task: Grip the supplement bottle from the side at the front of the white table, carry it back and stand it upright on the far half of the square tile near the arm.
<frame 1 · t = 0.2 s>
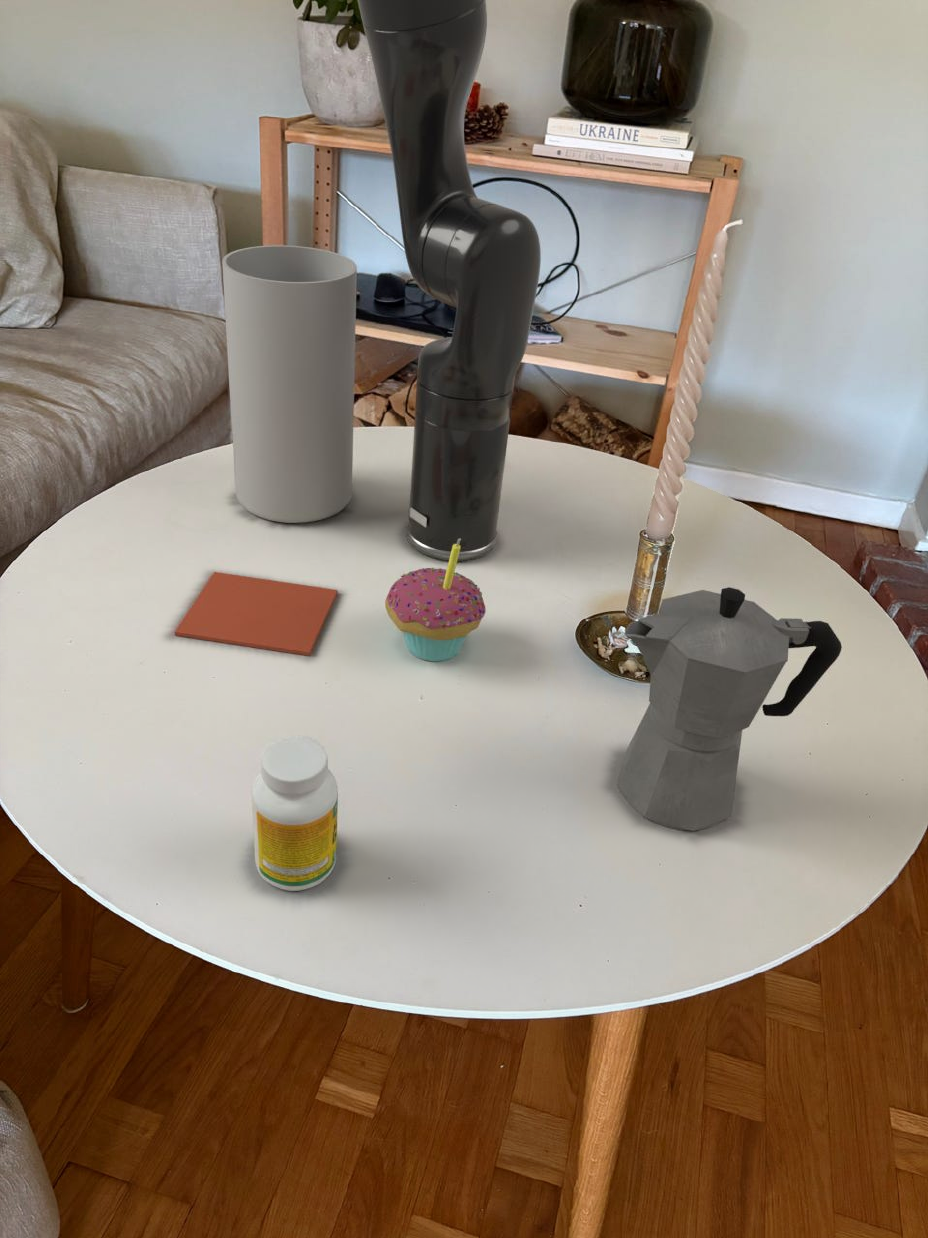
supplement bottle: (296, 864, 64), on the table
square tile: (259, 613, 87), on the table
coffeepot: (688, 789, 73), on the table
cupcake: (431, 647, 85), on the table
cylinder vase: (294, 499, 105), on the table
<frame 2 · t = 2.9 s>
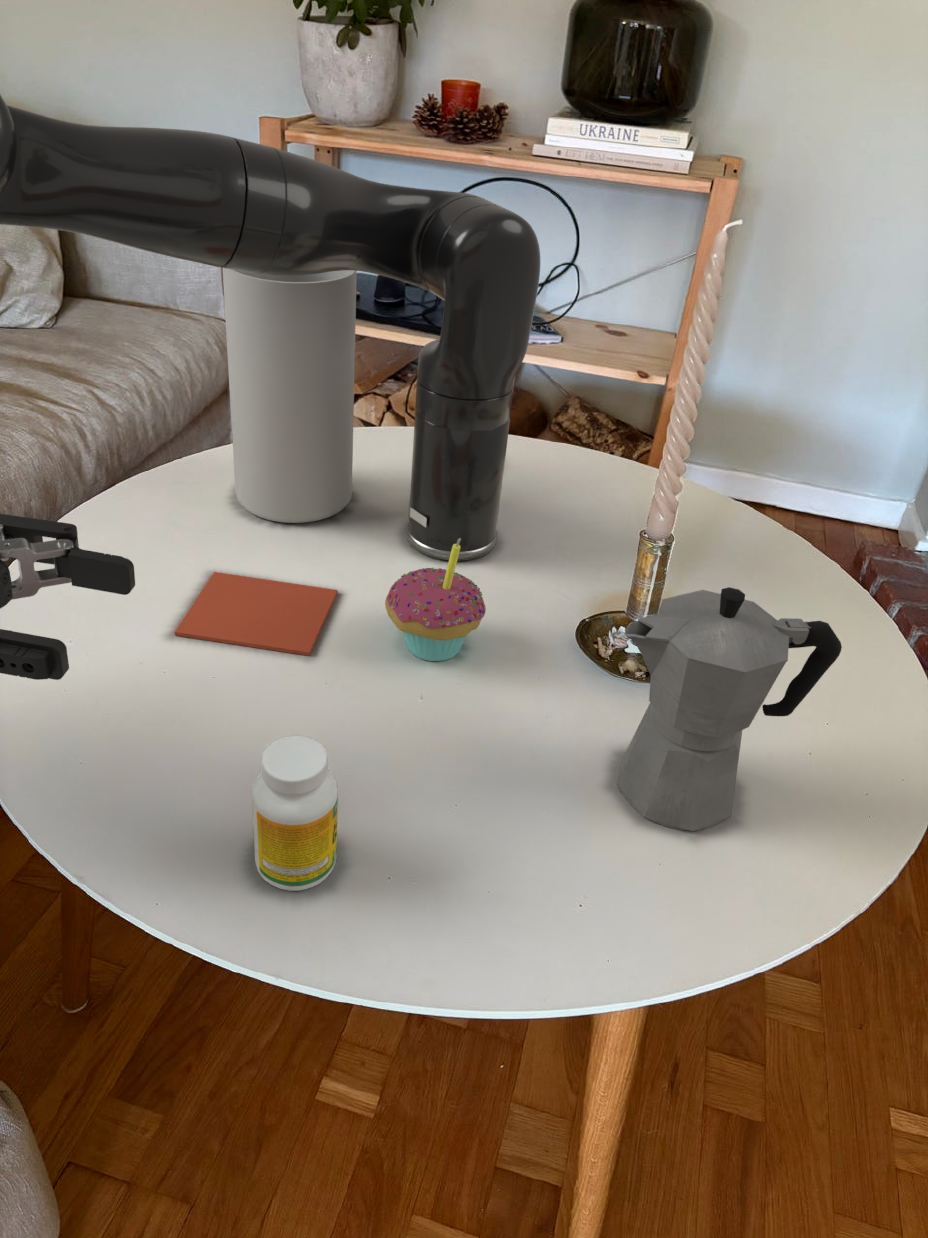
hand: (100, 616, 54), 18 cm above the table, tool horizontal, fingers open, 8 cm apart
nothing on the table moved.
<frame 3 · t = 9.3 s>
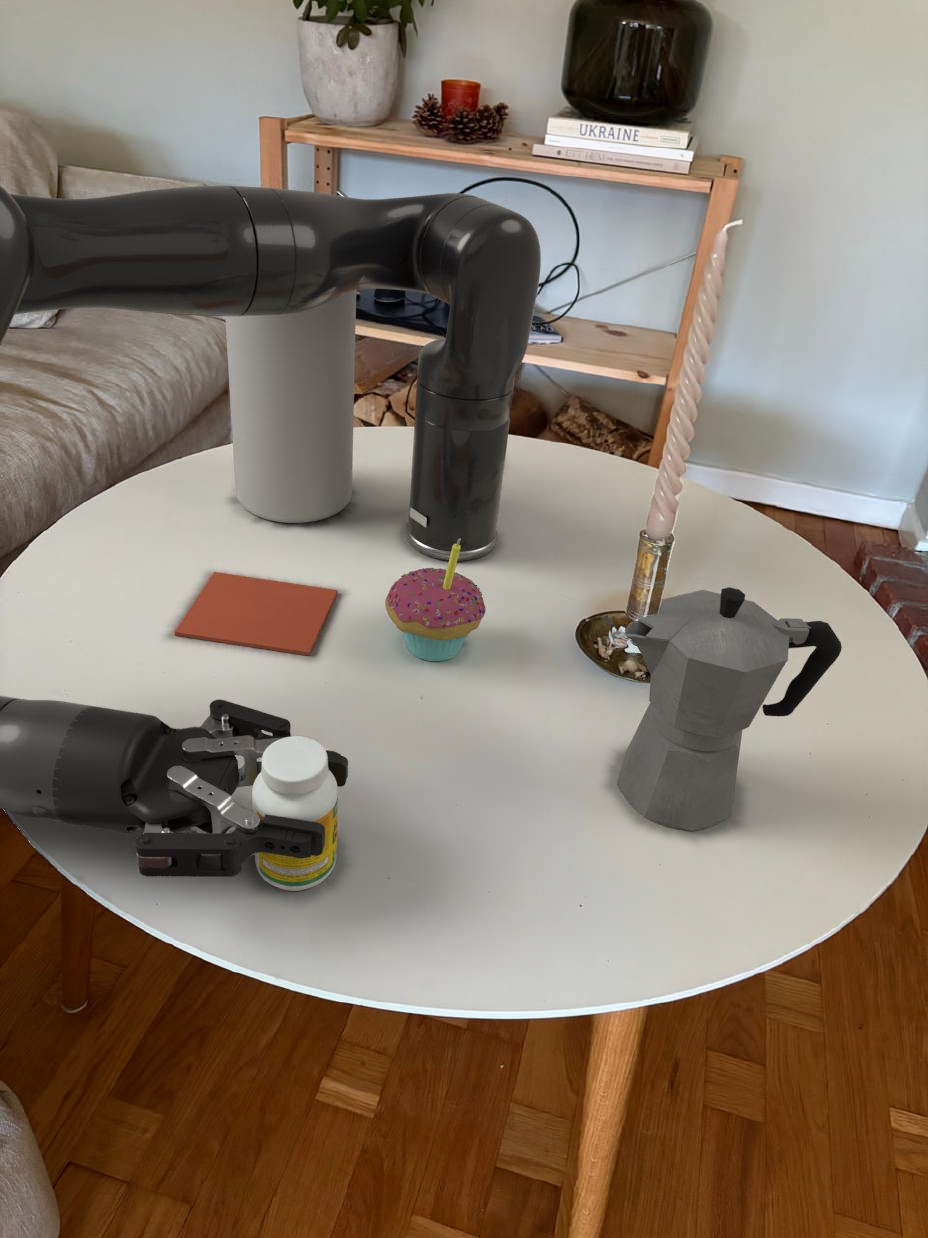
hand: (334, 804, 60), 6 cm above the table, tool horizontal, fingers closed on supplement bottle, 5 cm apart
supplement bottle: (296, 863, 64), on the table, touching gripper
everything else where it was.
when the fingers open (6 cm above the table, at t = 18.6 s): supplement bottle stays where it is, resting on square tile.
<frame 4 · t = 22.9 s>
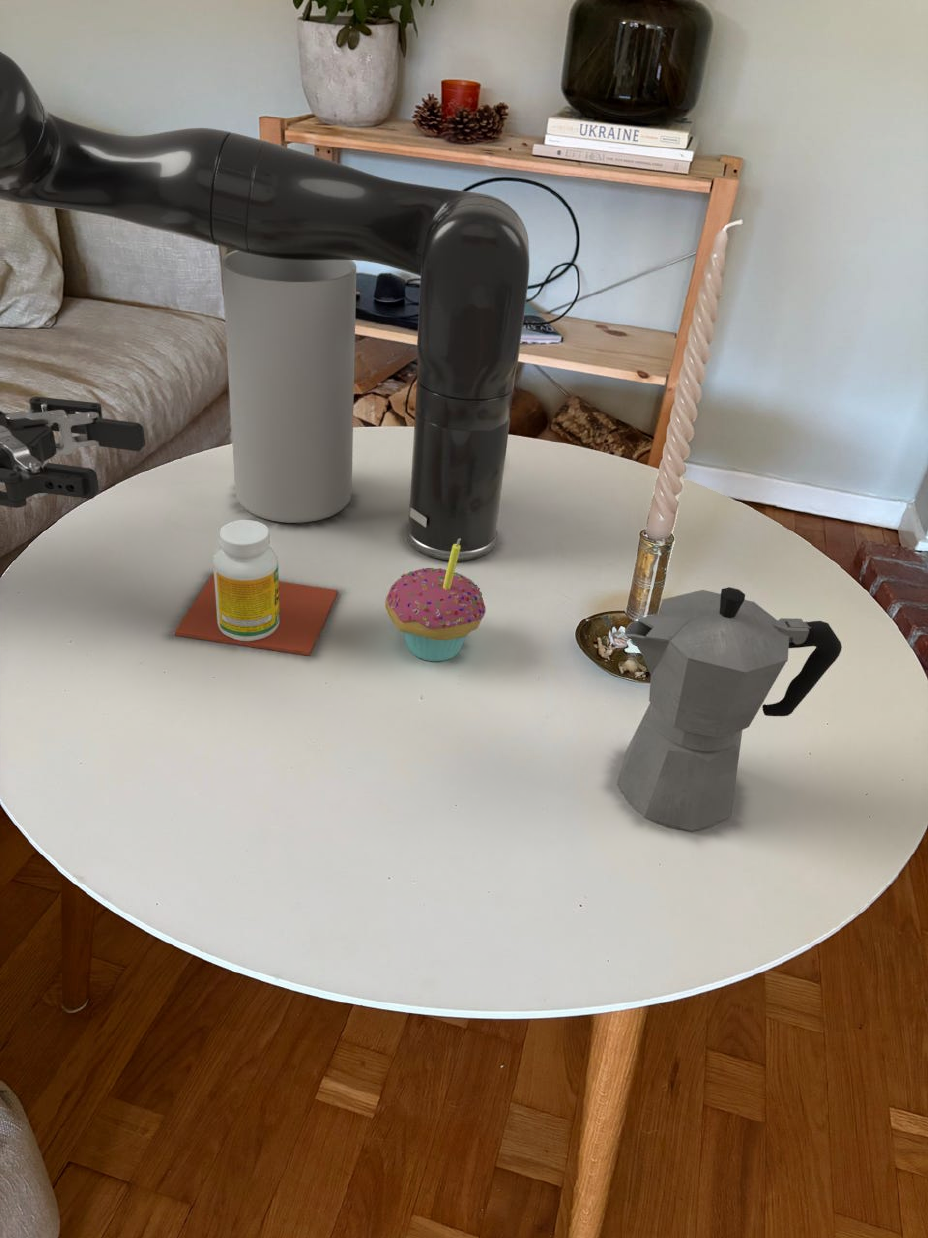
hand: (120, 459, 75), 16 cm above the table, tool horizontal, fingers open, 8 cm apart
supplement bottle: (249, 627, 85), resting on square tile
everything else where it was.
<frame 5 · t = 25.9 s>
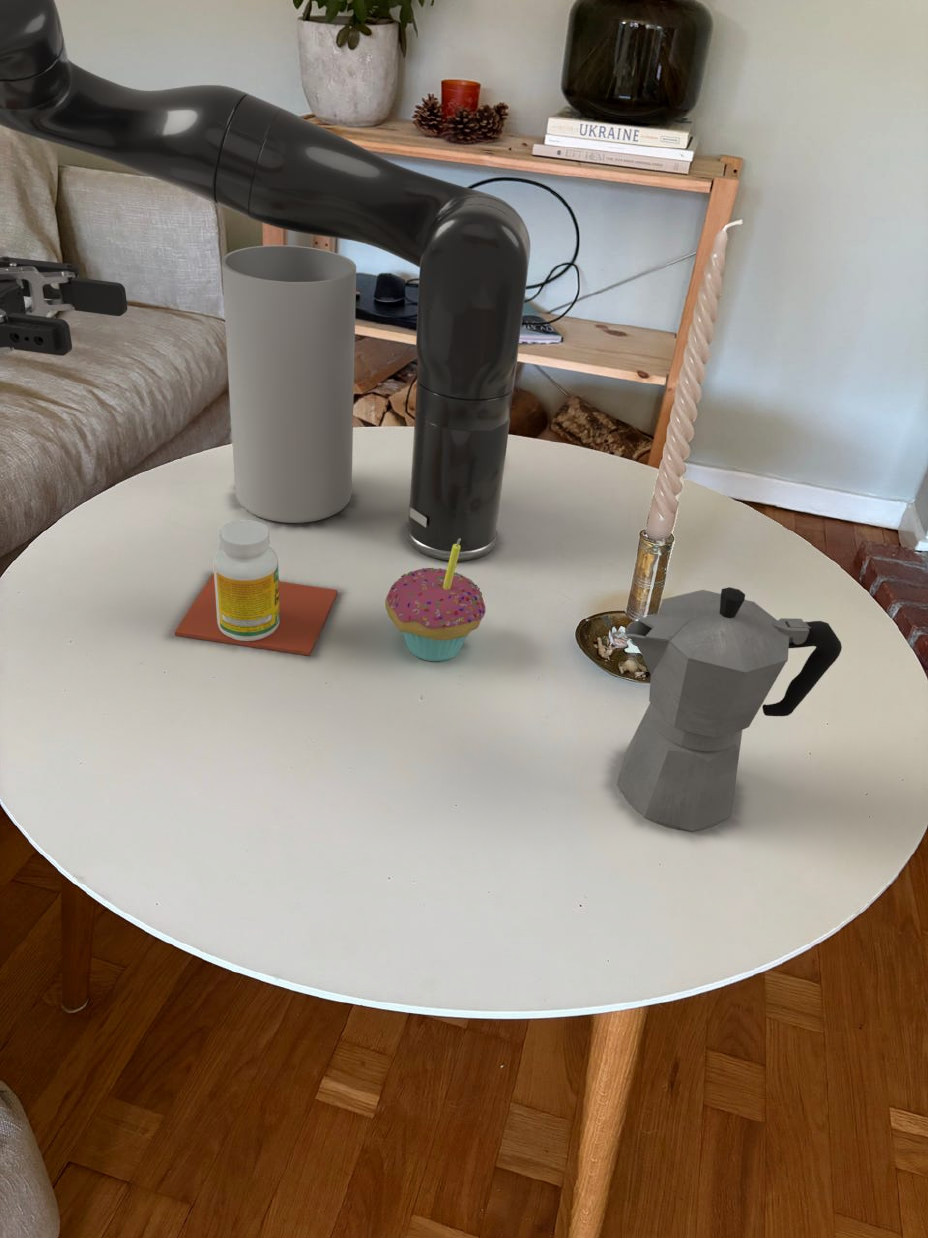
hand: (98, 318, 65), 28 cm above the table, tool horizontal, fingers open, 8 cm apart
nothing on the table moved.
at the end: supplement bottle inside the target area on the square tile (0.7 cm from its centre), point 0.2 cm above the square tile's base; supplement bottle tilted 0°; the gripper is holding nothing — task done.
